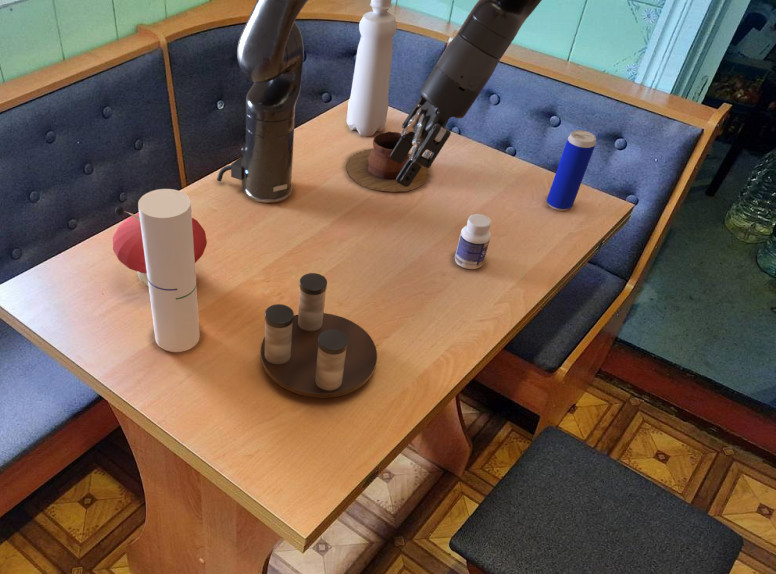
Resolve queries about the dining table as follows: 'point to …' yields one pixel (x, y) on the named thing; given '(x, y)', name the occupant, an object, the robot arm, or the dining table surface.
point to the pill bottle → (473, 242)
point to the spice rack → (315, 346)
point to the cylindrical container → (170, 267)
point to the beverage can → (571, 170)
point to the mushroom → (131, 243)
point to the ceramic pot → (382, 166)
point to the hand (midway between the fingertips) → (398, 171)
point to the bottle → (372, 70)
